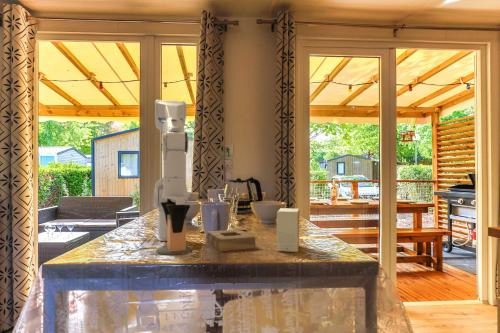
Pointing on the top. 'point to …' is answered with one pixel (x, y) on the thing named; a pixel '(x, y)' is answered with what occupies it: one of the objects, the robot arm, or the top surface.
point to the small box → (288, 229)
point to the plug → (175, 237)
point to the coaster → (165, 251)
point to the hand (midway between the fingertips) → (174, 230)
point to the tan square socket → (230, 240)
